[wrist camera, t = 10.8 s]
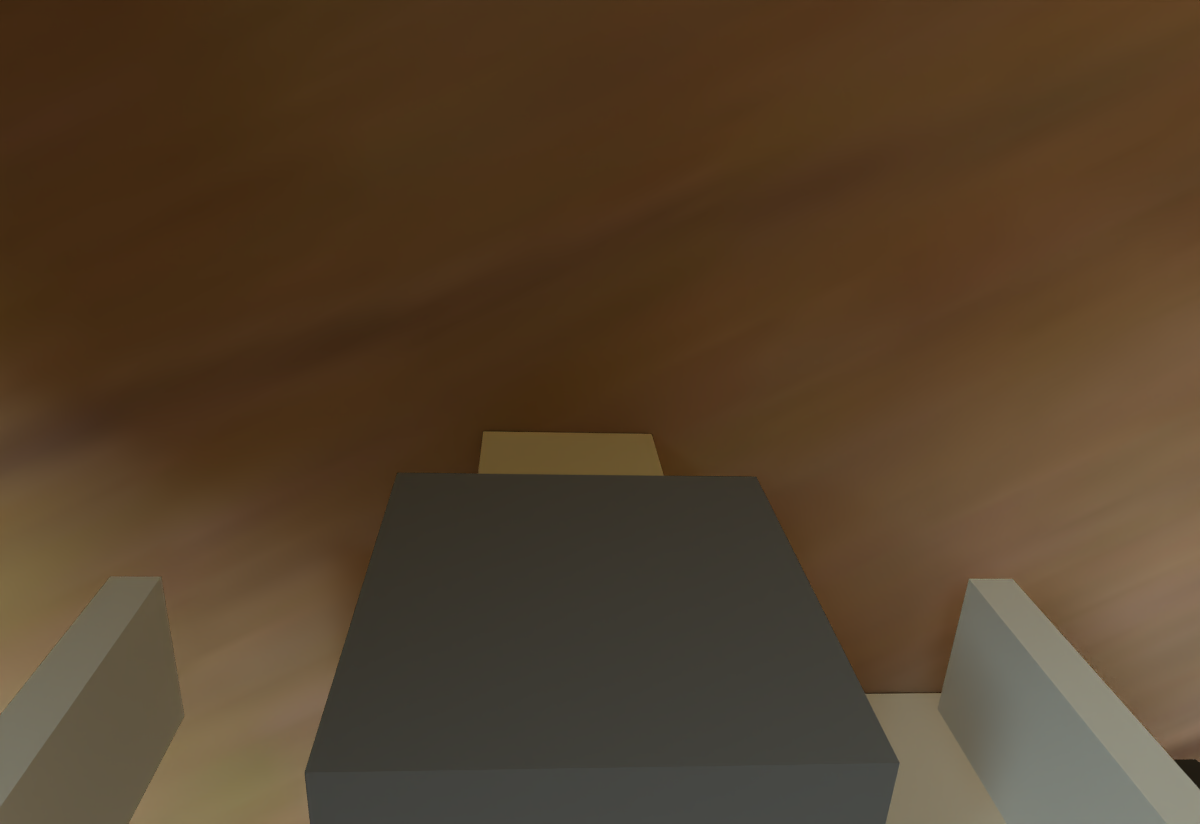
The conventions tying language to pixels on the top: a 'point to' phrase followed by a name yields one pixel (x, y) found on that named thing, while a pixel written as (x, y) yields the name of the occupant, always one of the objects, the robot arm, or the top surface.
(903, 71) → the top surface
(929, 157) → the top surface
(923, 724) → the socket
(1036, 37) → the top surface
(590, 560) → the plug
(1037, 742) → the robot arm
